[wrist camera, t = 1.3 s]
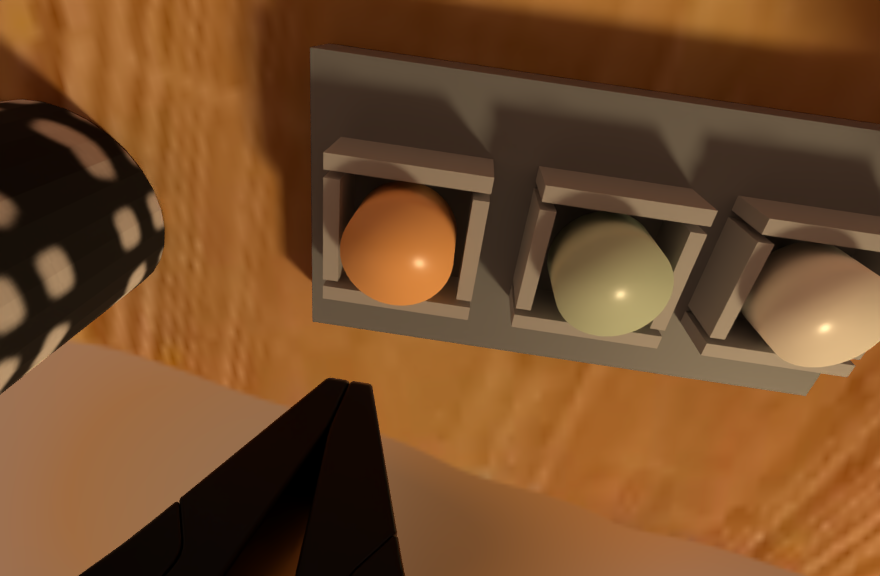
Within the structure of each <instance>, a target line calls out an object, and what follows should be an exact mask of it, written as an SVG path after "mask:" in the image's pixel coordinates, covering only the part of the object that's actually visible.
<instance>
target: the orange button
mask: <svg viewBox="0 0 880 576" xmlns="http://www.w3.org/2000/svg"><path fill="white" fill-rule="evenodd" d="M456 237H457V225H456V220H455V217H454V214H453V212H452V210H451V208H450V206H449V205H448V203H447V202H446V201H445V200H444V199H443V197H442V196H440V195H439V194H438V193H437V192H436V191H434V190H433V189H431V188H429V187H427V186H425V185H423V184H419V183H412V182H406V181H394V182H389V183H386V184H383V185H381V186H379V187H377V188H376V189H374V190H373V191H371V192H370V193H369V194H368V195H367V196H366V197H365V199H364V200H363V201H362V203H361V204H360V206H359V207H358V209H357V211H356V212H355V214H354V215H353V217H352V218H351V220H350V221H349V223H348V225H347V226H346V228H345V230H344V232H343V235H342V238H341V242H340V257H341V262H342V265H343V268H344V270H345V272H346V274H347V276H348V277H349V279H350V280H351V282H352V283H353V284H354V285H355V286H356V287H357V288H358V289H359V290H360V291H361V292H363V293H364V294H365V295H367V296H369V297H370V298H372V299H374V300H377V301H379V302H382V303H385V304H390V305H398V306H406V305H413V304H417V303H421V302H423V301H426V300H428V299H429V298H431V297H433V296H434V295H435V294H437V293H438V292H439V291H440V290H441V289H442V288H443V287H444V285H445V284H446V282H447V281H448V279H449V277H450V274H451V272H452V267H453V261H454V253H455V245H456Z"/></svg>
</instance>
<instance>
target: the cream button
mask: <svg viewBox="0 0 880 576" xmlns="http://www.w3.org/2000/svg"><path fill="white" fill-rule="evenodd" d="M741 312H742V314H743V315H744V317H745V318H746V319H747V320H748V322H749V323H750V324H751V325H752V326H753V328H754V329H755V330H756V331H757V332H758V333H759V335H760V336H761V337H762V338H763V339H764V341H765V342H766V343H767V344H768V345H769V346H770V348H771V349H772V350H773V351H774V352H775V353H776V354H777V355H778V356H779V357H780V358H781V359H783V360H784V361H786V362H788V363H790V364H793V365H797V366H802V367H826V366H832V365H836V364H839V363H843V362H846V361H848V360H851V359H853V358H855V357H857V356H859V355H861V354H863V353H864V352H866V351H867V350H869V349H870V348H872V347H873V346H874V345H876V344H877V343H878V342H879V341H880V276H879V275H877V274H876V273H874V272H873V271H871V270H870V269H868V268H867V267H865V266H864V265H862V264H861V263H859V262H858V261H856V260H855V259H853V258H852V257H850V256H849V255H847V254H846V253H845V252H843V251H842V250H840V249H838V248H837V247H835V246H833V245H830V244H823V243H816V242H800V243H795V244H791V245H788V246H785V247H782V248H780V249H778V250H776V251H774V252H772V253H770V254H769V256H768V258H767V260H766V262H765V264H764V266H763V268H762V270H761V272H760V273H759V275H758V277H757V279H756V281H755V283H754V285H753V287H752V289H751V291H750V292H749V294H748V296H747V298H746V300H745V302H744V304H743V306H742V308H741Z"/></svg>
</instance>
